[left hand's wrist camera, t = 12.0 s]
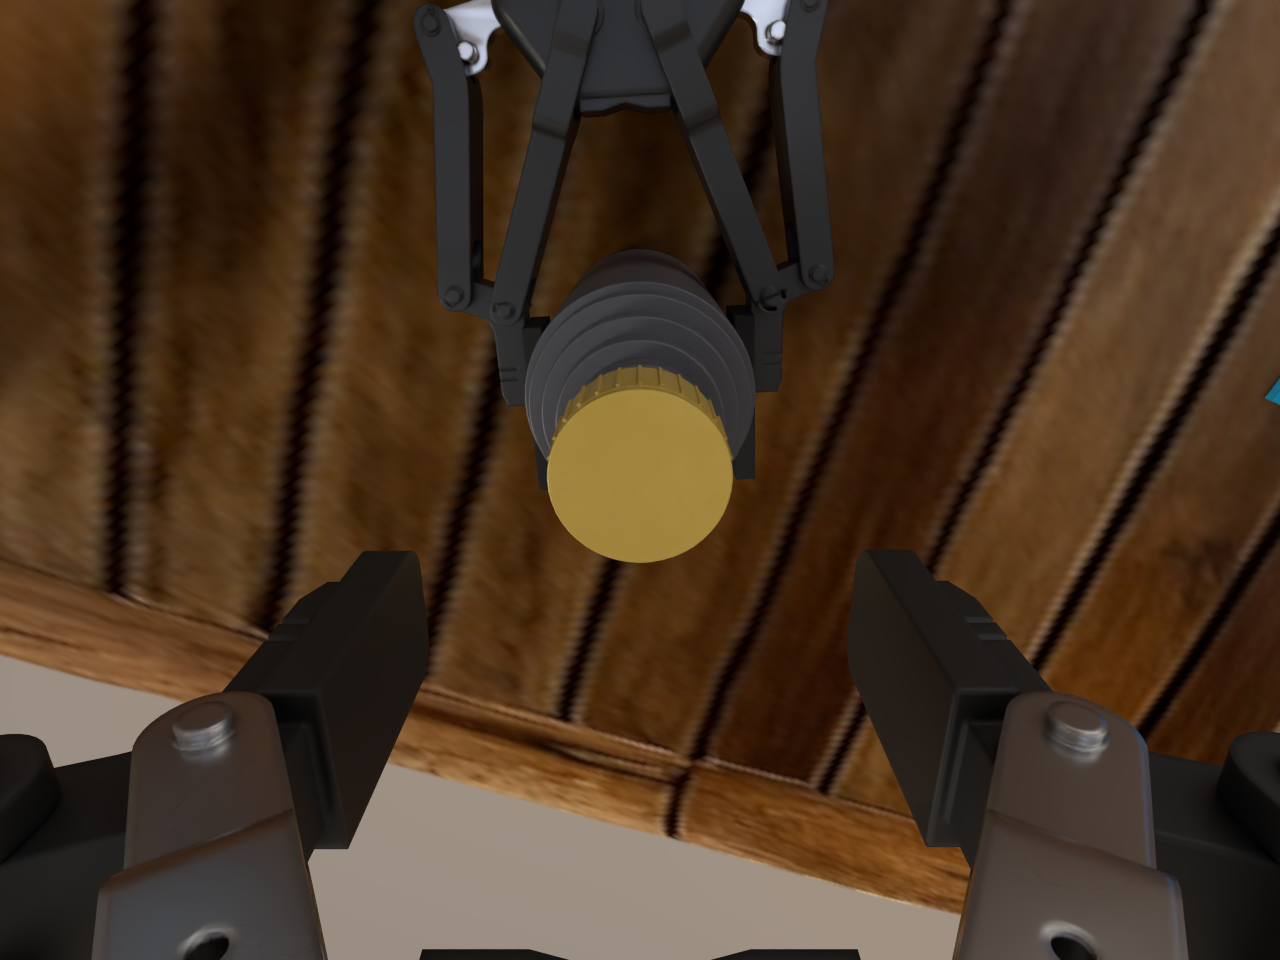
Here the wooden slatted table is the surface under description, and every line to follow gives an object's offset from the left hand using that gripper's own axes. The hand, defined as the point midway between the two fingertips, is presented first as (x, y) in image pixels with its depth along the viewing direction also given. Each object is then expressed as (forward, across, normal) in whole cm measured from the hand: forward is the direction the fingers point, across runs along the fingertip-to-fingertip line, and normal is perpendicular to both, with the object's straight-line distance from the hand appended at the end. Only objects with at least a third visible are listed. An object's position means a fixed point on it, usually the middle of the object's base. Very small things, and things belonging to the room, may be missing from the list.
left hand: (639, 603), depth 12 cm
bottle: (+26, 0, 0) cm, 26 cm away
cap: (+6, 0, 0) cm, 6 cm away
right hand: (+19, 0, -5) cm, 20 cm away
